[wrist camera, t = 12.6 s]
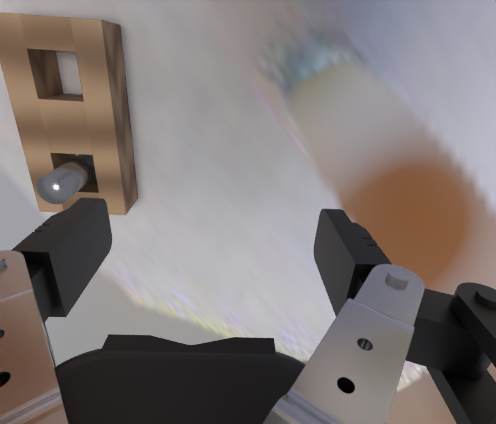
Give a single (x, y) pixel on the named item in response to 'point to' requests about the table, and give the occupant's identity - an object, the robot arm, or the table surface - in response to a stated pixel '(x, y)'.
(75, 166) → the peg
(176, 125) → the table surface
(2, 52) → the hole block
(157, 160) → the table surface
